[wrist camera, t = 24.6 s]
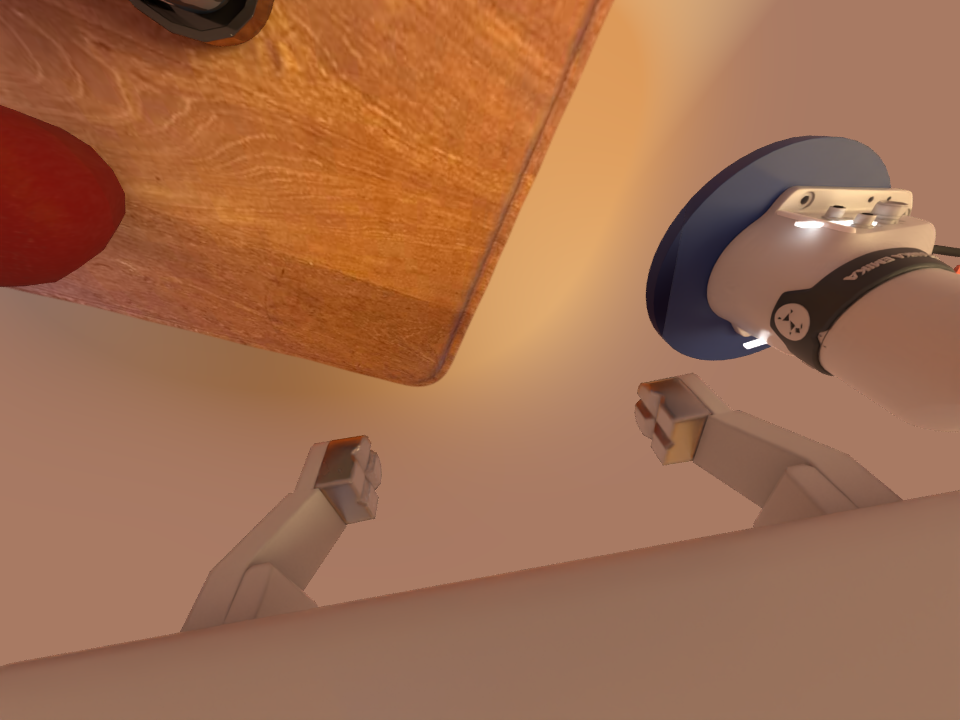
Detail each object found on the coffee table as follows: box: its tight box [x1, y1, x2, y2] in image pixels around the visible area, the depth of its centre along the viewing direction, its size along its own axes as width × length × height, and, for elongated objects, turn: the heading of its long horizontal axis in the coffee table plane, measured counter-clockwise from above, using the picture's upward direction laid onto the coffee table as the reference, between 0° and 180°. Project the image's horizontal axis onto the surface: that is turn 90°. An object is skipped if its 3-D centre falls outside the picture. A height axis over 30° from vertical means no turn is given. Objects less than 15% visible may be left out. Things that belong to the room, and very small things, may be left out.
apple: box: [0, 105, 125, 287], centre depth 24 cm, size 12×12×13 cm
